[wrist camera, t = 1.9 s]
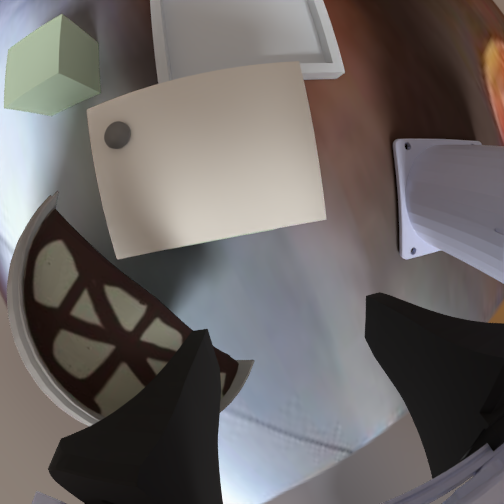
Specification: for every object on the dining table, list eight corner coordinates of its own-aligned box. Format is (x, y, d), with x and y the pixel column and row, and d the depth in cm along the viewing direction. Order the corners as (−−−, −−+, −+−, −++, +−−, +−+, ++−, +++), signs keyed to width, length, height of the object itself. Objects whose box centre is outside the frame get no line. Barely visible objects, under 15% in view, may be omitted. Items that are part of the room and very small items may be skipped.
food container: (-19, 333, 10) (-60, 308, 4) (29, 262, 14) (49, 180, 8) (131, 437, 15) (225, 481, 9) (161, 368, 19) (261, 365, 13)
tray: (299, -34, 10) (304, -44, 9) (336, 79, 14) (345, 72, 12) (153, -17, 10) (148, -28, 9) (165, 101, 13) (160, 96, 12)
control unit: (288, 80, 13) (320, 36, 8) (310, 213, 16) (354, 242, 10) (118, 116, 13) (62, 96, 7) (144, 245, 16) (102, 288, 10)
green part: (98, 43, 12) (62, 13, 7) (101, 93, 13) (58, 73, 8) (50, 67, 11) (8, 49, 7) (52, 116, 13) (4, 108, 8)
